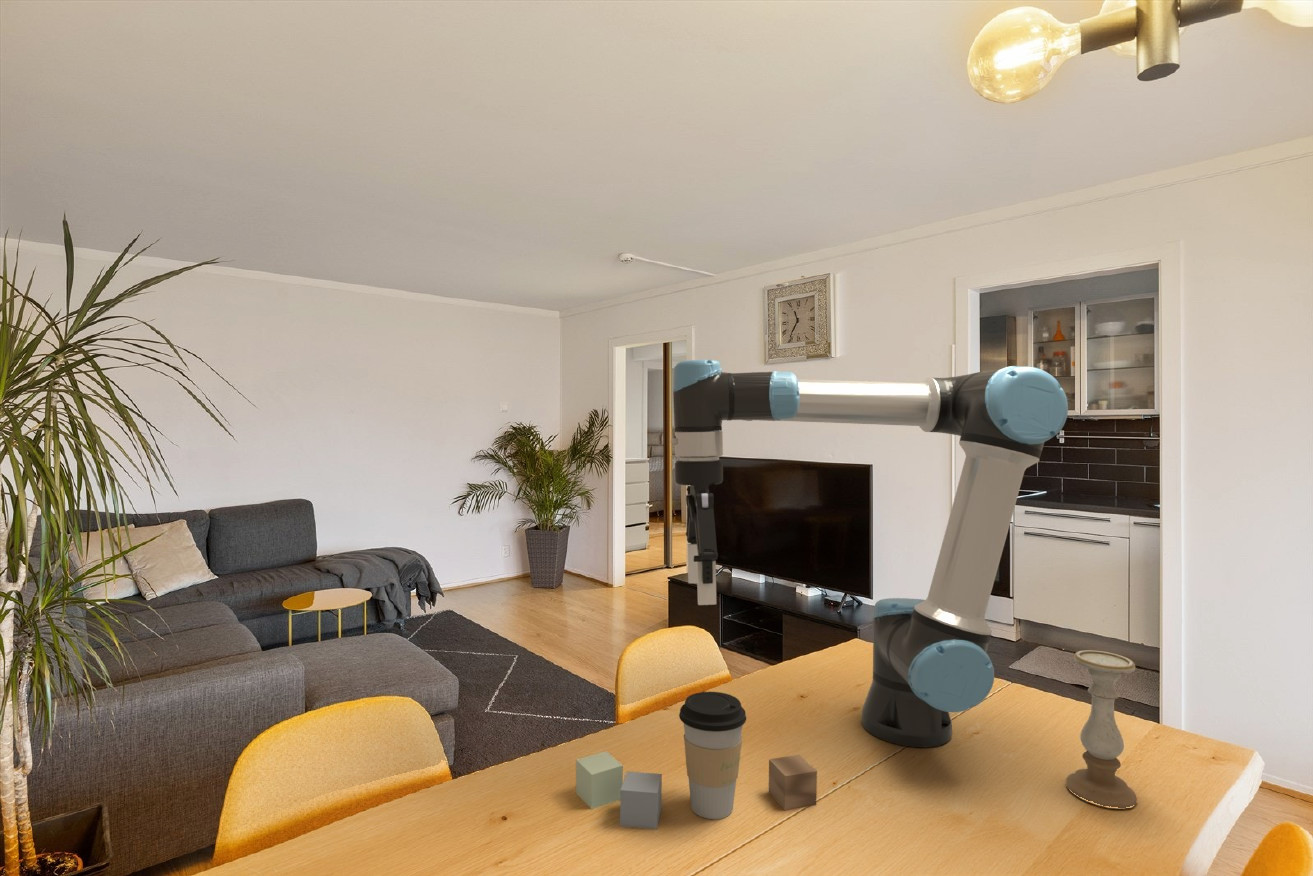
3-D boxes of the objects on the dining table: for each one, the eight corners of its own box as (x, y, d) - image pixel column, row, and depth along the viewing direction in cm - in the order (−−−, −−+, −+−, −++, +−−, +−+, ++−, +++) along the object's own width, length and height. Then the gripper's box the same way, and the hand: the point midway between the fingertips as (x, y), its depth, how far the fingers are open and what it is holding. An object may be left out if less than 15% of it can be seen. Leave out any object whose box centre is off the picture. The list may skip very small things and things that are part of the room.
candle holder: (1125, 784, 104) (1129, 652, 104) (1145, 816, 96) (1149, 672, 95) (1059, 774, 107) (1063, 645, 106) (1073, 804, 99) (1077, 664, 98)
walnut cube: (798, 787, 103) (799, 754, 102) (816, 805, 98) (816, 771, 98) (768, 792, 101) (769, 759, 101) (784, 811, 96) (785, 776, 96)
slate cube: (661, 809, 97) (661, 774, 96) (656, 830, 92) (657, 793, 91) (626, 806, 97) (626, 771, 97) (620, 826, 92) (620, 790, 92)
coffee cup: (742, 831, 91) (743, 720, 91) (672, 822, 93) (673, 713, 93) (747, 793, 101) (748, 692, 100) (683, 786, 102) (685, 686, 102)
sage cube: (605, 784, 103) (606, 751, 103) (622, 799, 99) (622, 765, 99) (575, 793, 100) (576, 759, 100) (591, 810, 96) (591, 774, 96)
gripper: (669, 455, 120) (671, 575, 121) (682, 464, 95) (685, 615, 96) (711, 454, 121) (714, 574, 121) (735, 463, 96) (738, 613, 96)
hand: (701, 593), depth 109 cm, fingers open, 13 cm apart
